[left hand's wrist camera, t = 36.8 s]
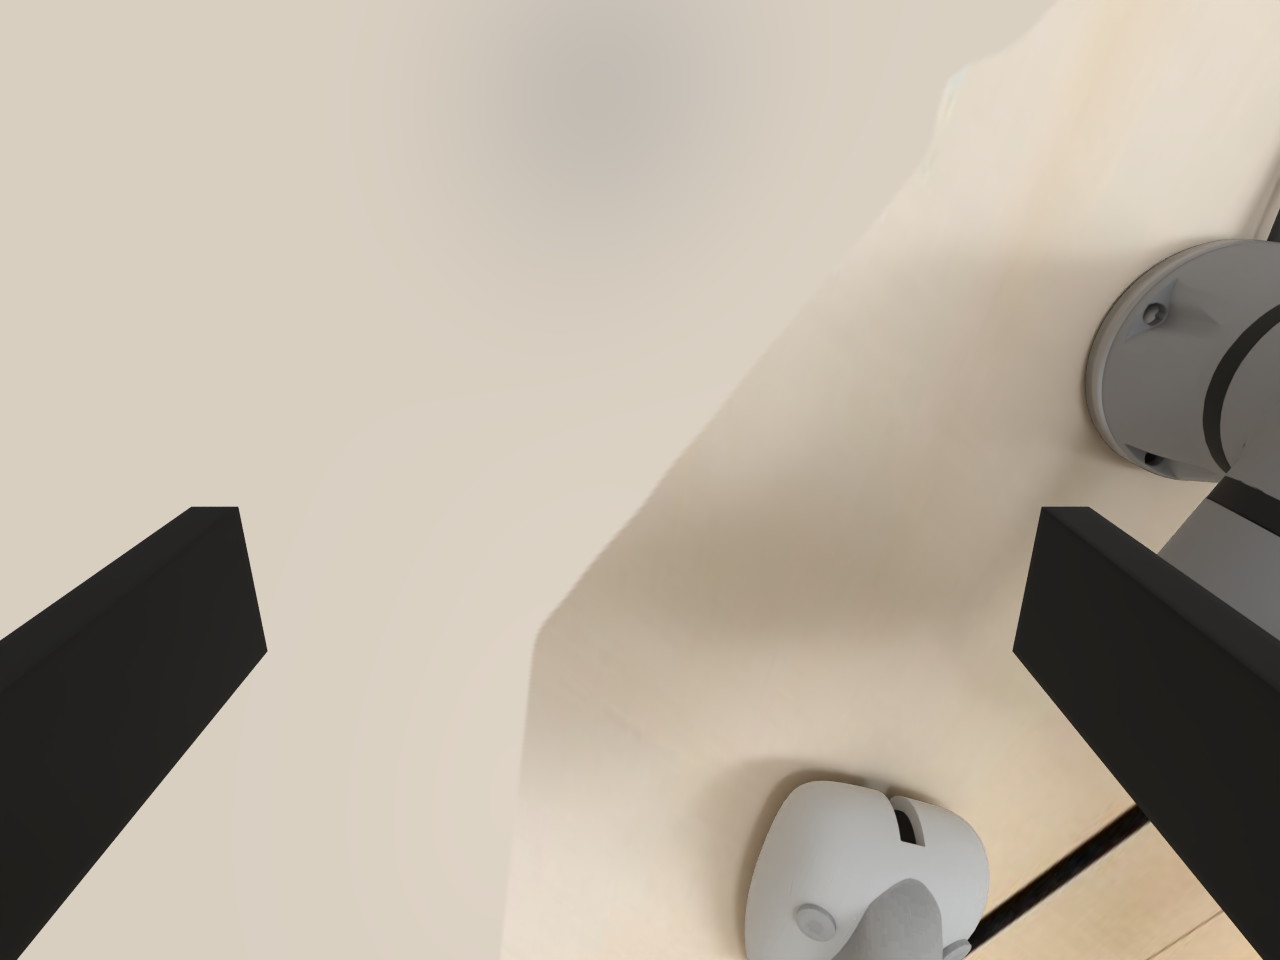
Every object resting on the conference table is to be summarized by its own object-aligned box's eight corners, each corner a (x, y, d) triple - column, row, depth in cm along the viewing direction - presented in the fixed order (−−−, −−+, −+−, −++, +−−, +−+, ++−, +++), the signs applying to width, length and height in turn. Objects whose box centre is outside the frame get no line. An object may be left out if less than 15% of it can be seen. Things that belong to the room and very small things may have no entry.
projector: (653, 825, 63) (657, 1000, 50) (905, 707, 59) (986, 862, 45) (777, 984, 70) (810, 1177, 56) (1011, 888, 66) (1109, 1071, 52)
